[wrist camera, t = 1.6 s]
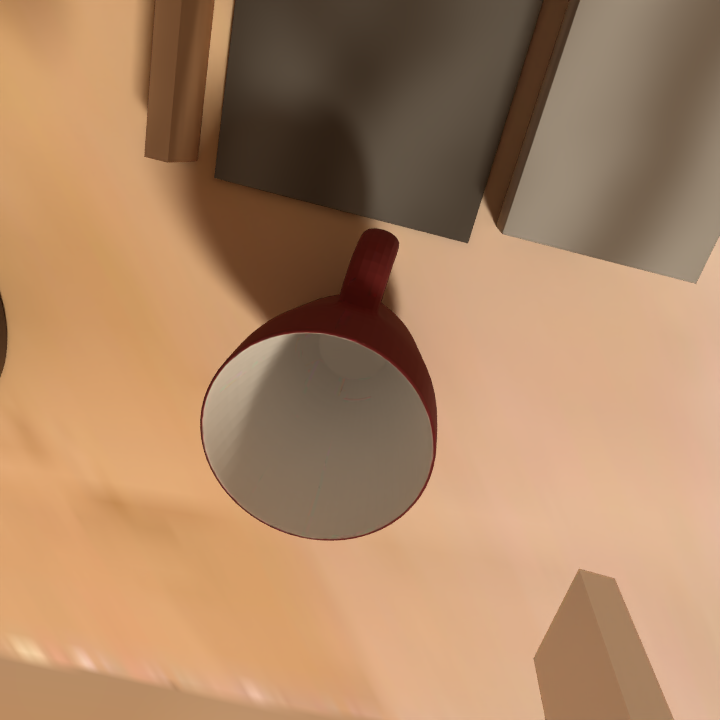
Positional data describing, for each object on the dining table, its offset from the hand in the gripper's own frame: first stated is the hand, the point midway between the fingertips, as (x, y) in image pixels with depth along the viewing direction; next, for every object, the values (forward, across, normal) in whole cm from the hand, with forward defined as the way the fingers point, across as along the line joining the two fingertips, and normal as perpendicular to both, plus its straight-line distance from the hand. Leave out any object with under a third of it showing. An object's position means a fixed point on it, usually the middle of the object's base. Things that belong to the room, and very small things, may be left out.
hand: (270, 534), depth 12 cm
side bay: (+16, +1, +12) cm, 20 cm away
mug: (+16, 0, 0) cm, 16 cm away
